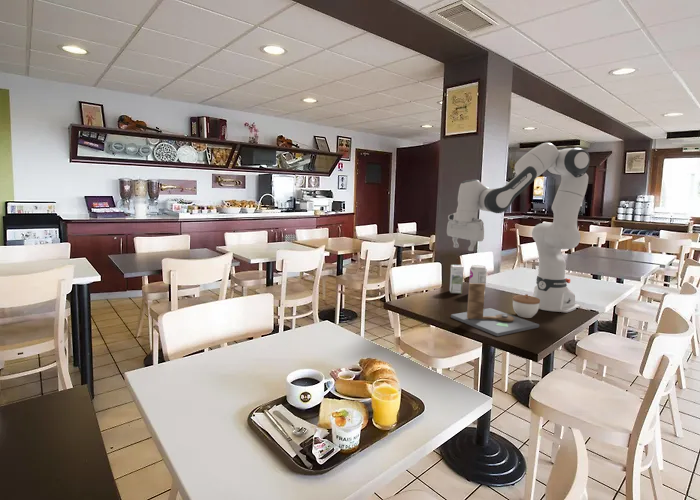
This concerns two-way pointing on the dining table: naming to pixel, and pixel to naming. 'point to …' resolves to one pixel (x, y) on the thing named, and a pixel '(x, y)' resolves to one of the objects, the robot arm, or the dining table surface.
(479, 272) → the supplement can
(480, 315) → the tuning key
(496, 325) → the board
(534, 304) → the lidded jar
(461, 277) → the syrup box
